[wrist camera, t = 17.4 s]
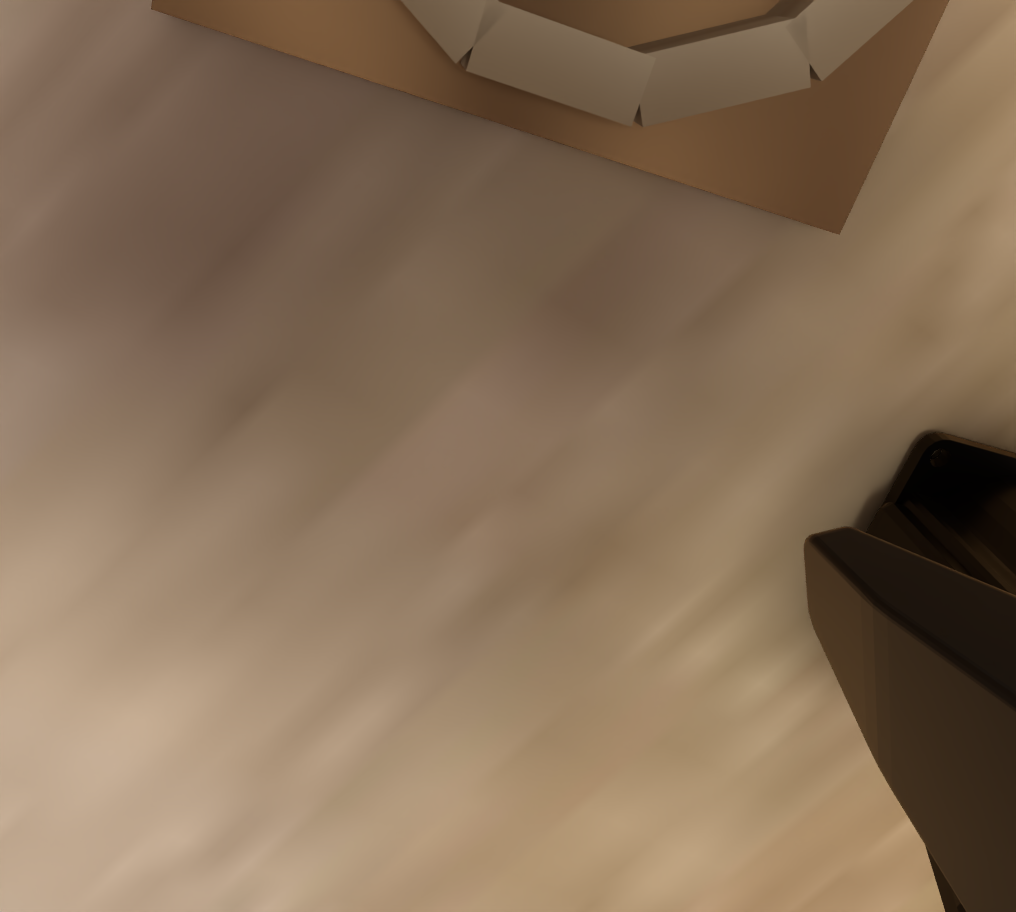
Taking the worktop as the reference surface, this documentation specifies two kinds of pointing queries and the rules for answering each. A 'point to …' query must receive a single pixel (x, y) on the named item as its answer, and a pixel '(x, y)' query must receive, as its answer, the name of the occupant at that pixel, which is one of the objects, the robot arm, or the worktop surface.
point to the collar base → (638, 78)
